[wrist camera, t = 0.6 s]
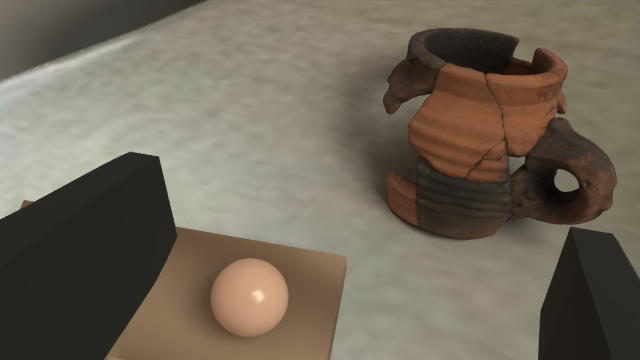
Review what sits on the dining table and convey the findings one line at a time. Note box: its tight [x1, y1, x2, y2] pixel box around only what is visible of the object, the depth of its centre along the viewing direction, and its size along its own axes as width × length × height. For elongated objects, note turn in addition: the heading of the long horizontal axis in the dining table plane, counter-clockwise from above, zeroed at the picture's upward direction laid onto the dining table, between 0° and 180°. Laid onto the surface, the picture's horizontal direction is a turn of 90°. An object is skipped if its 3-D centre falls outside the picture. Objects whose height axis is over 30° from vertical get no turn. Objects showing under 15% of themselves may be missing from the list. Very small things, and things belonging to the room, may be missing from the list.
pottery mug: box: [383, 28, 617, 239], centre depth 28 cm, size 12×10×8 cm
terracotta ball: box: [210, 258, 289, 337], centre depth 23 cm, size 3×3×3 cm
